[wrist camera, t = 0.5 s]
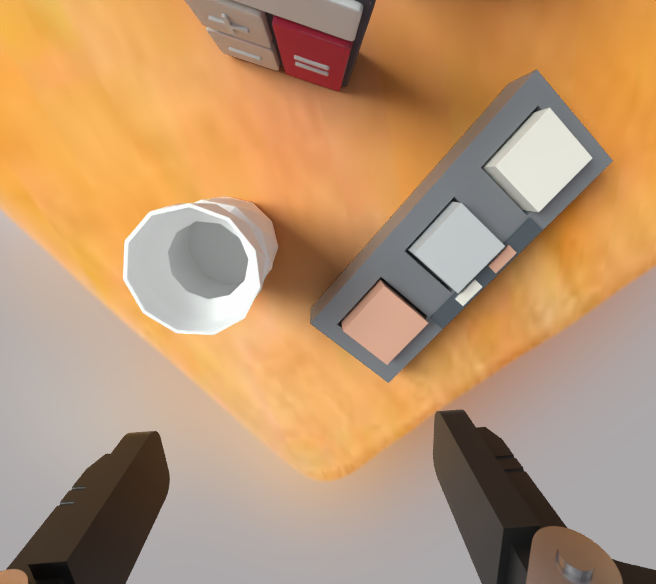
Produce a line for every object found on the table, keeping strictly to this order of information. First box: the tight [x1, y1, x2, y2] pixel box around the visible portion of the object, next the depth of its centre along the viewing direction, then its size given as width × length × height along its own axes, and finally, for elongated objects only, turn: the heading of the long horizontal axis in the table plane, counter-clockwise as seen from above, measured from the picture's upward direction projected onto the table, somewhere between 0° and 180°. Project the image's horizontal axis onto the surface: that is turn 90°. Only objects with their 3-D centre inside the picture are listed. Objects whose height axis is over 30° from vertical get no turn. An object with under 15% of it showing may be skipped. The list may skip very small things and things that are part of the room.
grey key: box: [407, 201, 505, 293], centre depth 30 cm, size 5×5×3 cm
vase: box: [123, 196, 278, 335], centre depth 28 cm, size 9×9×12 cm
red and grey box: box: [185, 0, 376, 91], centre depth 21 cm, size 11×4×15 cm, turn 74°
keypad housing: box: [310, 70, 613, 383], centre depth 32 cm, size 27×10×4 cm, turn 140°
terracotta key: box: [341, 278, 428, 365], centre depth 32 cm, size 5×5×3 cm
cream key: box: [481, 108, 592, 212], centre depth 28 cm, size 5×5×3 cm
